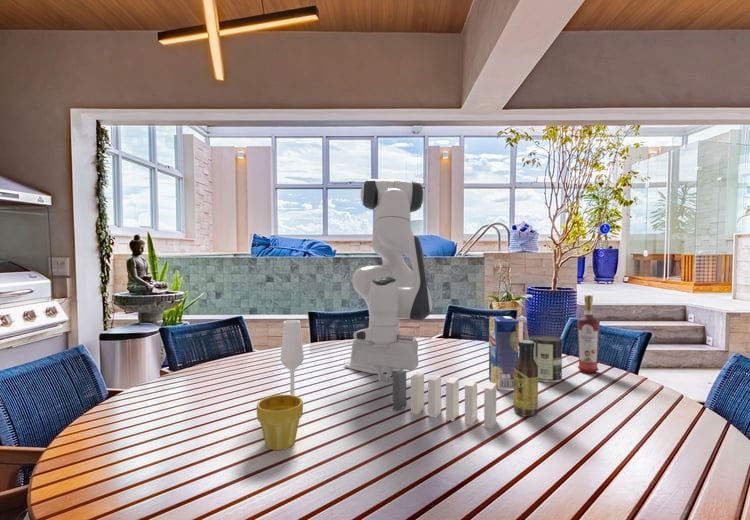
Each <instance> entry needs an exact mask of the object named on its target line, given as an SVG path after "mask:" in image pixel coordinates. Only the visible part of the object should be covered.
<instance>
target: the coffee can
mask: <svg viewBox="0 0 750 520" xmlns="http://www.w3.org/2000/svg"><path fill="white" fill-rule="evenodd" d="M530 341H533V342H534V346H535V347H534V350H533V355H534V358H533V359H534V361H535V362H536V364H537V366H538V382H541V381H542V382H543V383H551V384H552V383H560V382H562V381H563V373H562V372H563V370H562V369H563V365H562V364H563V338H561V337H559V336H553V335H546V334H545V335H543V334H539V335H531V336H530Z"/></svg>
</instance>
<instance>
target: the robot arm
mask: <svg viewBox="0 0 750 520" xmlns="http://www.w3.org/2000/svg"><path fill="white" fill-rule="evenodd" d="M360 200H361V203H362V205H363V206H364V208H366V209H369V210H375V214H374V219H373V224H372V225H373V226H372V241H371V247H372V250H373V251H374V253H376V254H377V255H378V256H380V257H381V260H382V264H381V265H368V266H364V267H360V268H357V269H356V270H355V271H354V273H353V275H352V280H351V281H352V286H353V288H354V290H355V292H356V293H357V294H358V295H359V296H361V297H362V299H363V300H364V302H365V303H366V306H367V309H368V315H369V316H368V317H369V318H368V319H369V320H368V326H367V327H364V328H363V329H359V330H357V331H354V332H353V339H354V340H353V341H352V344H351V354H350V359H349V360H347V361H346V362H344V368H346V369H350V370H354V371H355V370H356V371H359V372H364V373H367V374H371V375H375V374H376V375H378V382H381V383H382V382H383V383H390V382H391V375H392V374H393V373H396V372H397V371H399V370H405V371H414V370H416V369H417V368H418V367H419V355H418V350H419V343H418V341H417V339H416V338H414V336H410V335H407V336H406V335H401V331H400V320H401V319H403V320H404V319H406V320H409V319H410V320H413V321H414V320H415V321H421V322H422V321H423V320H425V319H426V318H428V317H429V316H430V315H431V314H432V313H431V312H432V309H433V301H432V300H433V299H432V296H431V293H430V290H429V286H428V285H429V284H428V278H427V272H426V271H427V270H426V264H425V258H424V253H423V247H422V243H421V240H420V238H419V237H418V236H416V235H414V233H413V231H412V227H411V221H412V219H411V213H413V212H417V211H418V210H420V209H421V208H422V204H423V202H424V200H425V191H424V187H423V186H422V184H421V183H420V182H417V181H413V180H412V181H410V180H403V179H397V178H393V179H389V178H387V179H376V178H371V179H366V180H365V182H363V185H362V187H361V189H360ZM403 255H404V256H405V257H407V258H408V259H409V260H410V263H411V268H410V266H408V265H407V262H406V261H405V259H404V256H403ZM385 373H386V374H385Z"/></svg>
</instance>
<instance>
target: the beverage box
mask: <svg viewBox="0 0 750 520" xmlns="http://www.w3.org/2000/svg"><path fill="white" fill-rule="evenodd" d="M488 317H489V321H488V322H489V324H488V325H489V327H488V331H489V333H488V343H489V344H488V380H489V381H490V383H491V382H492V383H496V389H514V367H515V363H516V362H517V360H518V359H519V345H518V344H519V341H520V340H519V338H520V336H519V334H520V332H519V330H520V328H519V322H520V321H518V320H517V319H515V318H514V317H512V316H509V315H505V316H502V315H495V316H494V315H489V316H488Z"/></svg>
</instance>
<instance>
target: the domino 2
mask: <svg viewBox="0 0 750 520" xmlns="http://www.w3.org/2000/svg"><path fill="white" fill-rule="evenodd" d="M423 410H425V373H423V372H416V373H414V374H413V375H412V376H411V377H410V414H412V415H419V414H420V413H421V412H422V411H423Z"/></svg>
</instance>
